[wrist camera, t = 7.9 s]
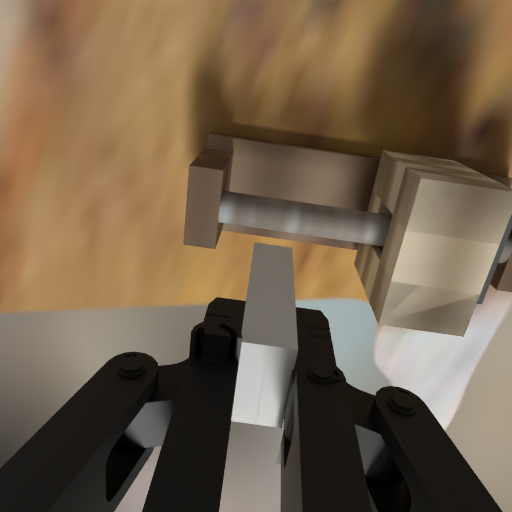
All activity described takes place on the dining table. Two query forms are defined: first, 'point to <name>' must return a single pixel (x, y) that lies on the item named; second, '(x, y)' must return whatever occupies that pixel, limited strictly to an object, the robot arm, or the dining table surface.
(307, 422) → the robot arm
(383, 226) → the pipe stand
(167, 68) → the dining table surface
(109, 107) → the dining table surface
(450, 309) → the sleeve
